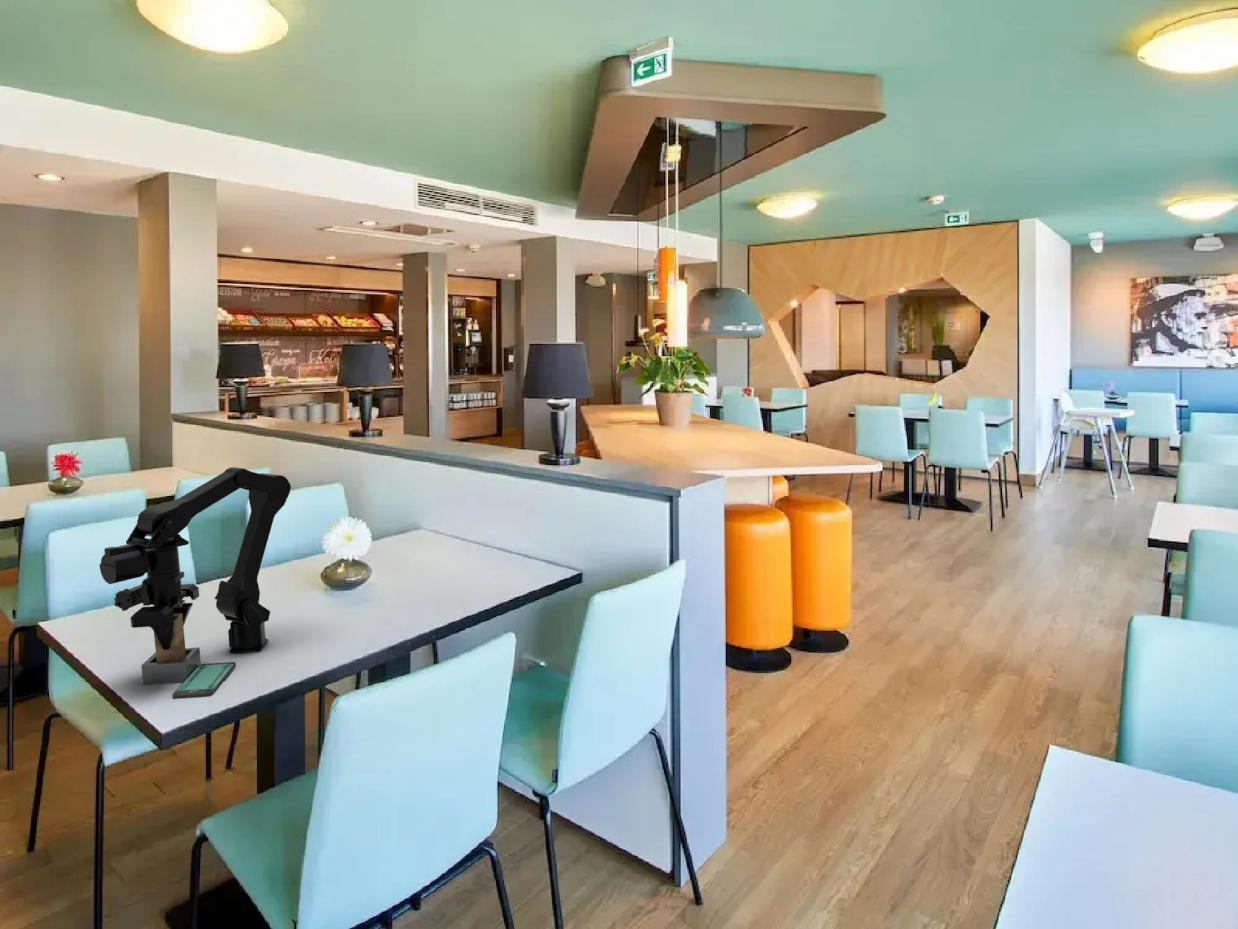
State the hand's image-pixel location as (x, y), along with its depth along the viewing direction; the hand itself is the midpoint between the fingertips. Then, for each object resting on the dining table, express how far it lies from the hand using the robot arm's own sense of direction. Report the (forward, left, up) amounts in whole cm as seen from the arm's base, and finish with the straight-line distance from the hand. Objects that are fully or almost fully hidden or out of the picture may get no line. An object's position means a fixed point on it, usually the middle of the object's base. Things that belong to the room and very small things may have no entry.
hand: (170, 645), depth 157 cm
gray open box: (0, 0, -6) cm, 6 cm away
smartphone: (-8, +4, -7) cm, 11 cm away
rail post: (0, 0, -4) cm, 4 cm away
